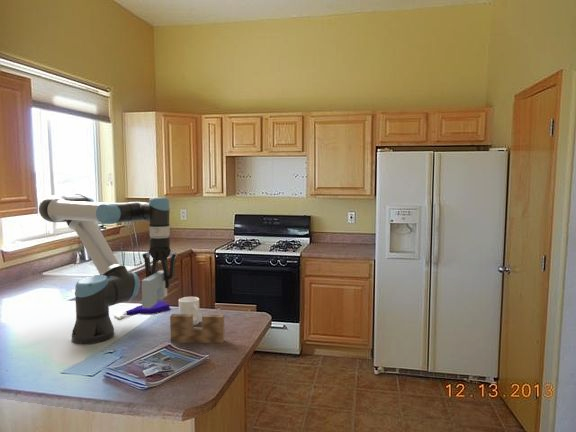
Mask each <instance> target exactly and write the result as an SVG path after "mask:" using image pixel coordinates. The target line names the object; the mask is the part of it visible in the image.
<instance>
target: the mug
mask: <svg viewBox="0 0 576 432" xmlns="http://www.w3.org/2000/svg"><path fill="white" fill-rule="evenodd" d="M178 314H193V327H195V326H197V325H199V323H200V298H199V297H197V296H184V297H181V298H179V299H178Z"/></svg>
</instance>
